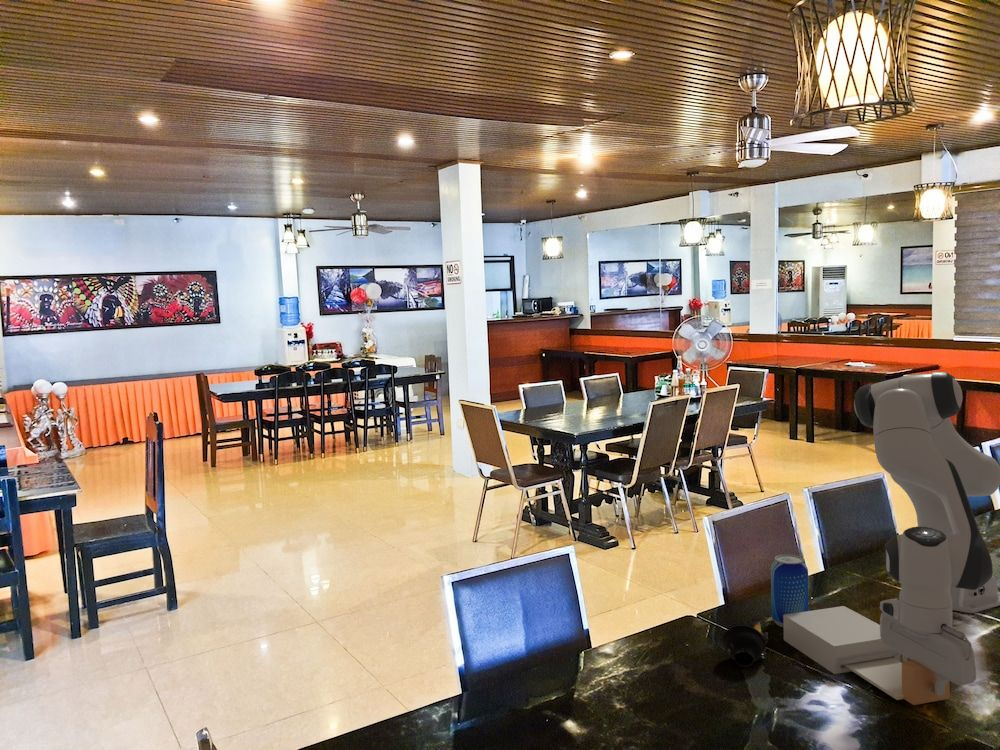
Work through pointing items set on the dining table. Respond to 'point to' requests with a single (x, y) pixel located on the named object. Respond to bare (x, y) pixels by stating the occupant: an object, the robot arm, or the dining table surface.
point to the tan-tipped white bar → (900, 679)
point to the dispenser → (836, 637)
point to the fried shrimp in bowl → (745, 643)
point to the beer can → (788, 587)
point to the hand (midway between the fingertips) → (925, 686)
